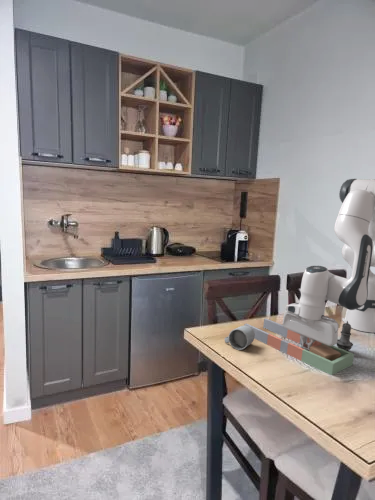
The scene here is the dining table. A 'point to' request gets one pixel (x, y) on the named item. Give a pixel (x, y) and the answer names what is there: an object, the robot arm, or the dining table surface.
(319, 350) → the walnut block
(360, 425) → the dining table surface
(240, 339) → the ceramic mug
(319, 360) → the frame
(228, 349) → the dining table surface
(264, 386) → the dining table surface
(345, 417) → the dining table surface
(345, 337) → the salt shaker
